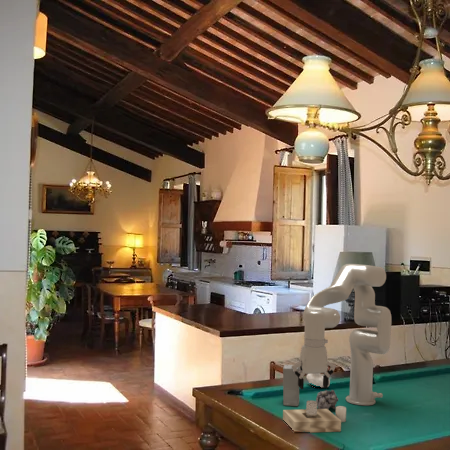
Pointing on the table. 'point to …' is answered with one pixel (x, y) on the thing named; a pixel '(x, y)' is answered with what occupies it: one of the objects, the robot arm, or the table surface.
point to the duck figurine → (316, 379)
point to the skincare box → (290, 386)
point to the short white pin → (341, 413)
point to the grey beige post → (311, 409)
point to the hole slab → (312, 421)
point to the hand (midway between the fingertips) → (313, 387)
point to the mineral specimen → (326, 399)
